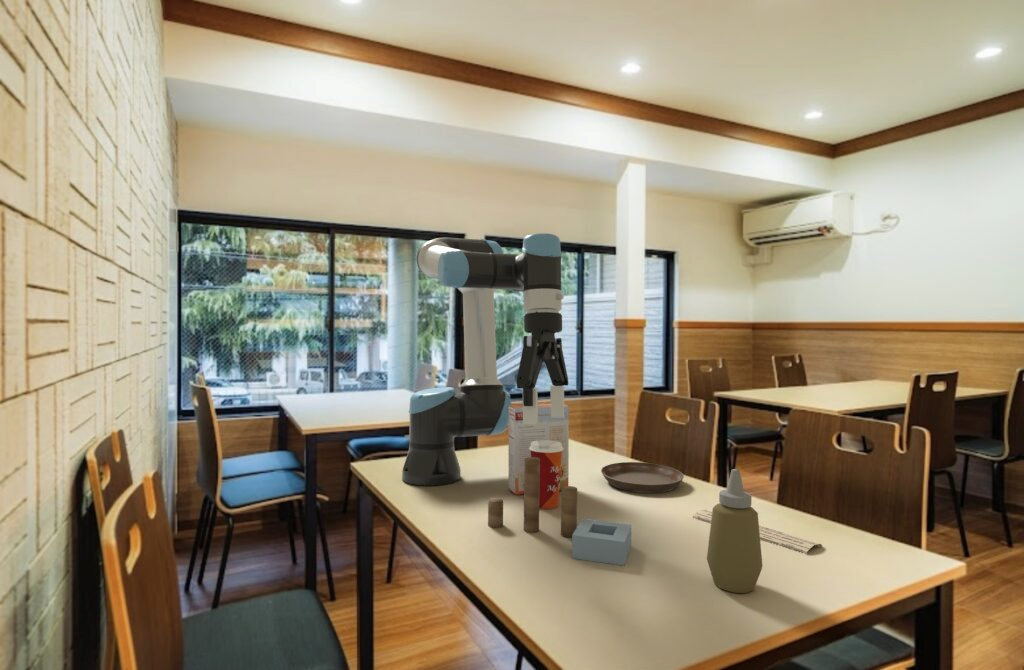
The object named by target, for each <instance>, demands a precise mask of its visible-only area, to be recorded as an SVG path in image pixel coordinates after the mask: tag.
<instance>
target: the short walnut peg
mask: <svg viewBox="0 0 1024 670" xmlns="http://www.w3.org/2000/svg"><path fill="white" fill-rule="evenodd" d="M487 508H488V509H487V513H488V515H487V526H488V527H489V528H491V527H492V529H499V528H503V526H504V500H503V499H502V498H497V497H495V498H494V497H493V498H490V499H488V503H487Z"/></svg>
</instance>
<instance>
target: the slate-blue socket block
mask: <svg viewBox="0 0 1024 670" xmlns="http://www.w3.org/2000/svg"><path fill="white" fill-rule="evenodd" d="M631 547H632V523H623V522H616V521H615V522H614V521H605V520H598V519H592V518H591V519H590V518H582V519H581V520H580V522H579V524H577V528H576V530H575V531H574V533H573V534H572V538H571V559H577V560H582V561H583V560H584V561H591V562H598V563H603V564H611V565H616V566H617V565H619V566H623V567H624V566H626V562H627V560H628V557H629V553H630V551H631Z"/></svg>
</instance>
